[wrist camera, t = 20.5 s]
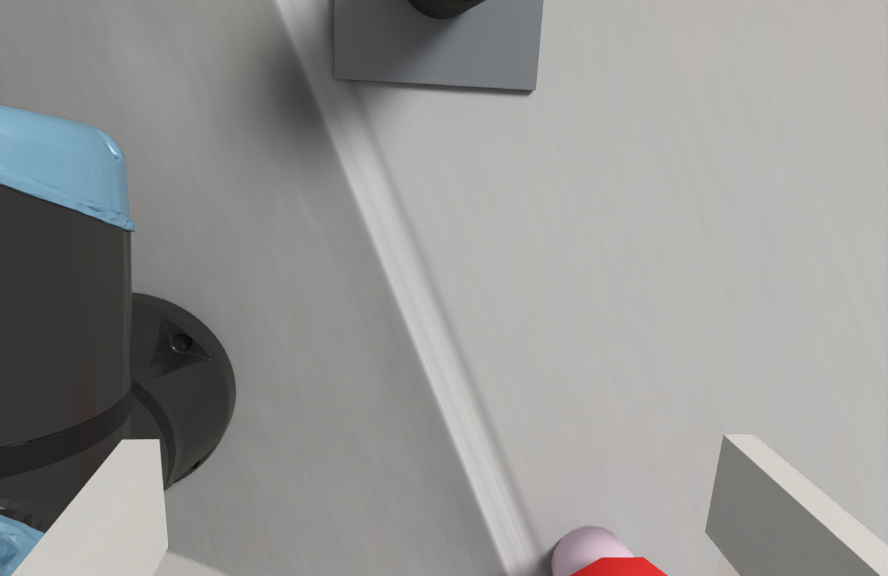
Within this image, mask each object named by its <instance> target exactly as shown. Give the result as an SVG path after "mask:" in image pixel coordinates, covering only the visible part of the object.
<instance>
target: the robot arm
mask: <svg viewBox="0 0 888 576" xmlns="http://www.w3.org/2000/svg"><path fill="white" fill-rule="evenodd" d="M131 232H135V224H134V221H133V220H132V219H131V218H130V215H129V201H128V187H127V171H126V162H125V158H124V155H123V153H122V151H121V149H120V147H119V146H118V144H117V143H116V142H115V141H114V140H113V139H112V138H111V137H110V136H109V135H108V134H106V133H105V132H103V131H102V130H100V129H98V128H96V127H94V126H92V125H89V124H85V123H81V122H77V121H73V120H68V119H64V118H59V117H55V116H50V115H45V114H40V113H36V112H31V111H26V110H21V109H16V108H12V107H7V106H2V105H0V576H154V574H155V572H156V570H157V568H158V566H159V564H160V562H161V560H162V558H163V556H164V554H165V552H166V550H167V548H168V539H167V527H166V515H165V503H164V491H165V490H167V489H168V488H169V487H171V486H172V484H174V483H176V482H178V481H180V480H181V479H183V478H185V477H186V476H188V475H189V474H191V473H192V472H194V471H195V470H196V469H197V468H199V467H200V466H201V465H202V464H203V463H204V462H205V461H206V460H207V459H208V458H209V456H210V455H211V454H212V453H213V452H214V450H215V449H216V447H217V446H218V444H219V442H220V441H221V439H222V437H223V435H224V433H225V431H226V429H227V427H228V425H229V423H230V420H231V417H232V414H233V411H234V406H235V398H236V387H235V378H234V373H233V369H232V366H231V363H230V361H229V358H228V356H227V354H226V352H225V350H224V348H223V347H222V345H221V343H220V342H219V341H218V339H217V338H216V336H215V335H214V334H213V333H212V332H211V331H210V330H209V329H208V328H207V327H206V325H204V324H203V323H202V322H201V321H200V320H199V319H197V318H196V317H195V316H194V315H192V314H191V313H189V312H188V311H186V310H184V309H183V308H181V307H179V306H177V305H175V304H173V303H171V302H168V301H166V300H163V299H160V298H157V297H154V296H150V295H145V294H140V293H132V282H131ZM705 532H706V534H707V535H708V536H709V537H710V539H711V540H712V541H713V542H714V543H715V545H716V546H717V547H718V548H719V550H720V551H721V552H722V553H723V555H724V556H725V557H726V558H727V560H728V561H729V562H730V563H731V565H732V566H733V567H734V568H735V570H736V571H737V572H738V573H739V575H740V576H888V546H887V545H886V544H885V543H884V542H882V541H881V540H880V539H879V538H877V537H876V536H875V535H874V534H873V533H871V532H870V531H869V530H868V529H867V528H865V527H864V526H863V525H862V524H861V523H859V522H858V521H857V520H856V519H855V518H853V517H852V516H851V515H850V514H848V513H847V512H846V511H845V510H844V509H842V508H841V507H840V506H839V505H838V504H836V503H835V502H834V501H833V500H832V499H830V498H829V497H828V496H827V495H826V494H824V493H823V492H822V491H821V490H819V489H818V488H817V487H816V486H815V485H813V484H812V483H811V482H810V481H809V480H807V479H806V478H805V477H804V476H803V475H801V474H800V473H799V472H798V471H797V470H795V469H794V468H793V467H792V466H790V465H789V464H788V463H787V462H786V461H784V460H783V459H782V458H781V457H780V456H778V455H777V454H776V453H775V452H774V451H772V450H771V449H770V448H769V447H768V446H766V445H765V444H764V443H763V442H761V441H760V440H759V439H758V438H757V437H755V436H754V435H753V434H741V435H723V440H722V445H721V451H720V456H719V461H718V467H717V472H716V477H715V482H714V488H713V493H712V498H711V504H710V509H709V514H708V519H707V525H706V530H705Z"/></svg>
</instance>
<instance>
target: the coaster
mask: <svg viewBox="0 0 888 576" xmlns="http://www.w3.org/2000/svg"><path fill="white" fill-rule="evenodd" d="M542 10H543V0H486V1H484V2H482V3H480V4H478V5H477V6H475V7H473V8H471V9H469V10H467V11H466V12H464V13H462V14H460V15H457V16H455V17H453V18H447V19H437V18H431V17H429V16H426V15H424V14H422V13H421V12H419V11H418V10H416V9H415V8H414V7H413V6H412V5H411V3H410V2H409V1H408V0H334V79H346V80H363V81H380V82H397V83H414V84H431V85H448V86H465V87H481V88H498V89H515V90H532V91H534V90H536V81H537V69H538V58H539V46H540V34H541V22H542Z"/></svg>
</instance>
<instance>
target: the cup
mask: <svg viewBox="0 0 888 576" xmlns="http://www.w3.org/2000/svg"><path fill="white" fill-rule="evenodd" d="M408 1H409V2H410V3H411V5H412V6H413V7H414V8H415V9H416V10H418V11H419V12H421V13H422V14H424V15H426V16H429V17H431V18H437V19H447V18H453V17H455V16H457V15H460V14H462V13H464V12H466V11H467V10H469V9H471V8H473V7H475V6H477V5H478V4H480V3H482V2H484V1H486V0H408Z"/></svg>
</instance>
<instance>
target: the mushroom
mask: <svg viewBox="0 0 888 576" xmlns="http://www.w3.org/2000/svg"><path fill="white" fill-rule="evenodd" d="M551 565H552V571H553V576H667V575H666V574H665V573H663V572H662V571H661V570H659V569H658V568H657V567H656V566H654V565H653V564H652V563H650V562H649V561H648V560H646V559H645V558H644V557H634V556H633V555H632V554H631V553H630V552H629V550H628V549H627V548H626V547H625V546H624V545H623V544H622V543H621V542H620V540H619V539H618V538H617V537H616V536H615V535H614V534H613V533H612V532H611V531H608V530H606V529H604V528H602V527H593V526H586V527H582V528H579V529H576V530H573V531H571V532H570V533H569V534H567V535H566V536H564V537H563V538H562V539H561V540H560V541H559V543H558V544H557V546H556V547H555V549H554V550H553V555H552V560H551Z"/></svg>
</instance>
